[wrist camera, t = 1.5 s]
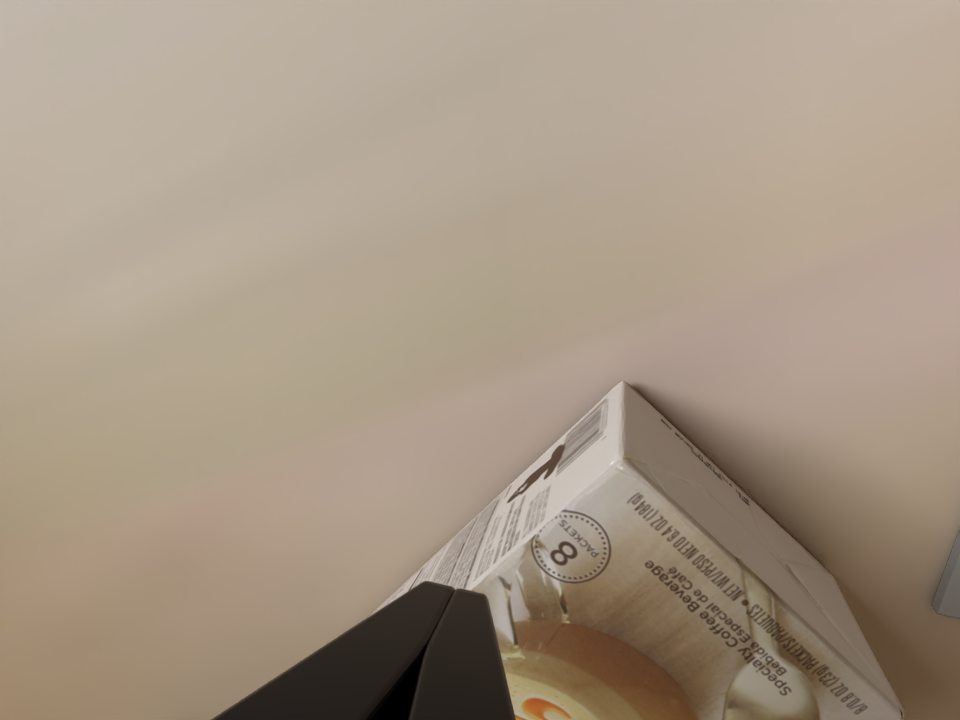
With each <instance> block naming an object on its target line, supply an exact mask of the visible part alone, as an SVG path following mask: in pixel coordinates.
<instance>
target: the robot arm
mask: <svg viewBox="0 0 960 720" xmlns="http://www.w3.org/2000/svg"><path fill="white" fill-rule="evenodd" d="M211 720H516V718H515V714H514V710H513V705H512V701H511V697H510V692H509V688H508V683H507V679H506V675H505V670H504V666H503V662H502V657H501V653H500V648H499V644H498V640H497V635H496V631H495V627H494V622H493V618H492V614H491V609H490V605H489V600H488V598H487V596H486V595H485V594H483V593H479V592H475V591H470V590H466V589H461V588H458V589H455V588H454V587H452V586H448V585H444V584H440V583H435V582H431V581H424V582H422V583H420V584H418V585H417V586H415V587H414V588H412V589H411V590H409V591H408V592H406V593H404V594H403V595H401V596H400V597H398V598H397V599H395V600H394V601H392V602H391V603H389V604H388V605H386V606H385V607H383V608H381V609H380V610H378V611H377V612H375V613H374V614H372V615H371V616H369V617H368V618H366V619H365V620H363V621H362V622H360V623H358V624H357V625H355V626H354V627H352V628H351V629H349V630H348V631H346V632H345V633H343V634H342V635H340V636H339V637H337V638H336V639H334V640H332V641H331V642H329V643H328V644H326V645H325V646H323V647H322V648H320V649H319V650H317V651H316V652H314V653H313V654H311V655H309V656H308V657H306V658H305V659H303V660H302V661H300V662H299V663H297V664H296V665H294V666H293V667H291V668H290V669H288V670H286V671H285V672H283V673H282V674H280V675H279V676H277V677H276V678H274V679H273V680H271V681H270V682H268V683H267V684H265V685H263V686H262V687H260V688H259V689H257V690H256V691H254V692H253V693H251V694H250V695H248V696H247V697H245V698H244V699H242V700H240V701H239V702H237V703H236V704H234V705H233V706H231V707H230V708H228V709H227V710H225V711H224V712H222V713H221V714H219V715H218V716H216V717H214V718H213V719H211Z"/></svg>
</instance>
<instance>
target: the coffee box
mask: <svg viewBox="0 0 960 720" xmlns="http://www.w3.org/2000/svg"><path fill="white" fill-rule="evenodd" d="M424 581H431V582H435V583H440V584H444V585H448V586H452V587H454V588H455V589H458V588H461V589H466V590H470V591H475V592H479V593H483V594H485V595H486V596H487V598H488V600H489V605H490V609H491V614H492V618H493V622H494V627H495V631H496V635H497V640H498V644H499V648H500V653H501V657H502V662H503V666H504V670H505V675H506V679H507V683H508V688H509V692H510V697H511V701H512V705H513V710H514V714H515V718H516V720H903V719H904V710H903V707H902V706H901V704H900V702H899V700H898V698H897V696H896V695H895V693H894V691H893V689H892V687H891V686H890V684H889V682H888V680H887V678H886V676H885V675H884V673H883V671H882V669H881V667H880V665H879V663H878V662H877V660H876V658H875V656H874V654H873V652H872V650H871V648H870V646H869V645H868V643H867V641H866V639H865V637H864V635H863V633H862V631H861V629H860V627H859V625H858V623H857V621H856V620H855V618H854V616H853V614H852V612H851V610H850V608H849V606H848V604H847V602H846V600H845V599H844V597H843V595H842V593H841V591H840V589H839V587H838V585H837V583H836V581H835V579H834V577H833V576H832V575H831V574H830V573H829V572H828V570H827V569H826V568H825V567H824V566H822V565H821V564H820V563H819V562H818V561H817V560H816V559H815V558H814V557H813V556H812V555H811V554H810V553H809V552H808V551H806V550H805V549H804V548H803V547H802V546H801V545H800V544H799V543H798V542H797V541H796V540H795V539H794V538H792V537H791V536H790V535H789V534H788V533H787V532H786V531H785V530H784V529H783V528H781V527H780V526H779V525H778V524H777V523H776V522H775V521H774V520H773V519H772V518H771V517H770V516H769V515H768V514H767V513H766V512H764V511H763V510H762V509H761V508H760V507H759V506H758V505H757V504H756V503H755V502H754V501H753V500H752V499H751V498H750V497H748V496H747V495H746V494H745V493H744V492H743V491H742V490H741V489H740V488H739V487H738V486H737V485H736V484H735V483H734V482H733V481H731V480H730V479H729V478H728V477H727V476H726V475H725V474H724V473H723V472H722V471H721V470H720V469H719V468H718V467H717V466H716V465H714V464H713V463H712V462H711V461H710V460H709V459H708V458H707V457H706V456H705V455H704V454H703V453H702V452H701V451H700V450H698V449H697V448H696V447H695V446H694V445H693V444H692V443H691V442H690V441H689V440H688V439H687V438H686V437H685V436H683V435H682V434H681V433H680V432H679V431H678V430H677V429H676V428H675V427H674V426H673V425H672V424H671V423H670V422H669V421H667V420H666V419H665V418H664V417H663V416H662V415H661V414H660V413H659V412H658V411H657V410H656V409H655V408H654V407H653V406H652V405H651V404H650V403H648V402H647V401H646V400H645V399H644V398H643V397H642V396H641V395H640V394H639V393H638V392H637V391H636V390H635V389H634V388H633V387H632V386H630V385H629V384H628V383H627V382H626V381H622V382H620V383H619V384H618V385H616V386H615V387H614V388H613V389H612V390H611V391H610V392H609V393H608V394H607V395H605V396H604V397H603V398H602V399H601V400H600V401H599V402H598V403H597V404H596V405H595V406H594V407H593V408H592V409H591V410H590V411H589V412H588V413H587V414H586V415H585V416H583V417H582V418H581V419H580V420H579V421H578V422H577V423H576V424H575V425H574V426H573V427H572V428H571V429H570V430H568V431H567V432H566V433H565V434H564V435H563V436H562V437H561V438H560V439H559V440H558V441H557V442H556V443H555V444H553V445H552V446H551V447H550V448H549V449H548V450H547V451H546V452H545V453H544V454H543V455H542V456H540V457H539V458H538V459H537V460H536V461H535V462H534V463H533V464H532V465H531V466H530V467H528V468H527V469H526V470H525V471H524V472H523V473H522V474H521V475H520V476H519V477H518V478H517V479H515V480H514V481H513V482H512V483H511V484H510V485H509V486H508V487H507V488H506V489H504V490H503V491H502V492H501V493H500V494H499V495H498V496H497V497H496V498H495V499H494V500H493V501H492V502H491V503H490V504H489V505H488V506H487V507H486V508H484V509H483V510H482V511H481V512H480V513H479V514H478V515H477V516H476V517H475V518H474V519H473V520H471V521H470V522H469V523H468V524H467V525H466V526H465V527H464V528H463V529H462V530H461V531H459V532H458V533H457V534H456V535H455V536H454V537H453V538H452V539H451V540H450V541H449V542H448V543H447V544H446V545H445V546H443V547H442V548H441V549H440V550H439V551H438V552H437V553H436V554H435V555H434V556H433V557H432V558H431V559H430V560H428V561H427V562H426V563H425V564H424V565H423V566H422V567H421V568H420V569H419V570H418V571H417V572H416V573H415V574H414V575H413V576H411V577H410V578H409V579H408V580H407V581H406V582H405V583H404V584H403V585H402V586H401V587H400V588H399V589H398V590H396V591H395V592H394V593H393V594H392V595H391V596H390V597H389V598H388V599H387V600H386V601H384V602H383V603H382V604H381V605H380V606H379V607H378V608H377V609H376V610H375V611H374V612H372V613H371V614H370V615H369V616H371V615H372V614H374V613H375V612H377V611H378V610H380V609H381V608H383V607H385V606H386V605H388V604H389V603H391V602H392V601H394V600H395V599H397V598H398V597H400V596H401V595H403V594H404V593H406V592H408V591H409V590H411V589H412V588H414V587H415V586H417V585H418V584H420V583H422V582H424ZM369 616H368V617H369ZM368 617H367V618H368Z"/></svg>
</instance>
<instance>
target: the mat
mask: <svg viewBox="0 0 960 720" xmlns="http://www.w3.org/2000/svg"><path fill="white" fill-rule="evenodd" d="M931 606H932V607H933V609H934V610H935V611H936V613H937V614H941V615H946V616H951V617H955V618H960V529H959V532H958V535H957V537H956V540H955V543H954V546H953V548H952V551H951V554H950V556H949V559H948V562H947V564H946V567H945V570H944V573H943V575H942V578H941V581H940V583H939V586H938V589H937V591H936V594H935V597H934V600H933V602H932V605H931Z"/></svg>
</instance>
